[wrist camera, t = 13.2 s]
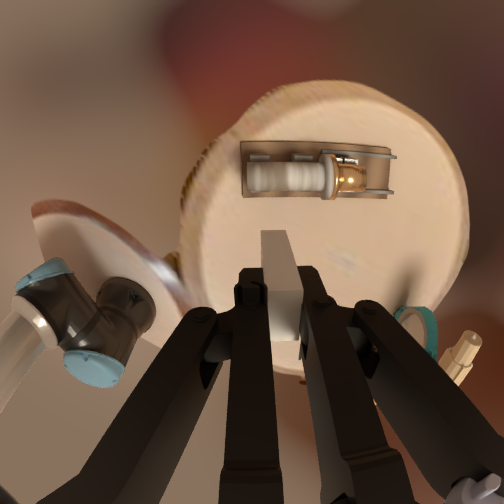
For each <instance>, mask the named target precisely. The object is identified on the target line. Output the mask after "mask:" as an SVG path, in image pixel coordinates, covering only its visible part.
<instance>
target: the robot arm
mask: <svg viewBox="0 0 504 504" xmlns="http://www.w3.org/2000/svg"><path fill="white" fill-rule="evenodd" d="M15 289H16V292H17V294H16V295H15V296H14V297H13V299H12V312H11V313H10V314H9V315H8V316H7V317H6V319H4V320H3V322H2V323H1V324H0V414H1V412H2V410H3V409H4V407H5V405H6V404H7V402H8V401H9V399H10V397H11V396H12V394H13V393H14V391H15V390H16V388H17V387H18V385H19V384H20V382H21V381H22V379H23V378H24V376H25V375H26V374H27V372H28V371H29V369H30V368H31V367H32V365H33V364H34V362H35V361H36V359H37V358H38V357H39V356H40V354H41V353H42V352H43V350H44V349H55V348H56V347H57V346H58V345H59V346H60V347H61V348H62V349H63V350H64V352H65V353H64V354H63V363H64V366H65V368H66V369H67V370H68V371H69V372H70V373H71V374H72V375H73V376H74V377H76V378H77V379H79V380H80V381H82V382H84V383H86V384H89V385H92V386H95V387H99V388H109V387H112V386H114V385H115V384H116V383H118V381H119V379H120V377H121V376H122V374H123V373H124V371H125V367H126V364H127V362H128V359H129V357H130V355H131V352H132V350H133V348H134V345H135V343H136V341H137V339H138V338H139V337H140V336H141V335H142V334H143V333H145V332H146V331H147V330H148V329H149V328H150V327H151V326H152V324H153V321H154V319H155V316H156V308H155V304H154V302H153V300H152V298H151V297H150V295H149V294H148V293H147V292H146V290H144V289H143V288H142V287H141V286H140V285H138V284H136V283H135V282H133V281H130V280H127V279H123V278H115V279H111V280H109V281H107V282H106V283H105V284H104V285H103V286H102V287H101V289H100V290H99V292H98V294H97V299H96V303H95V302H94V301H93V300H92V299H91V297H90V296H89V295H88V293H87V292H86V291H85V289H84V288H83V287H82V285H81V284H80V282H79V281H78V280H77V278H76V277H75V275H74V272H73V271H71V270H70V268H69V267H68V266H67V264H66V263H65V261H64V260H63V259H61V258H53V259H51V260H49V261H47V262H45V263H44V264H42V265H40V266H39V267H38V268H36V269H34V270H33V271H32V272H31V273H30V274H28V275H26V276H25V277H23V278H22V279H21V280H20V281H18V282H17V283H16V285H15ZM234 299H235V306H234V307H233V308H232V309H231V310H229V311H226V312H223V313H219V314H217V313H216V311H215V310H213V309H212V308H209V307H197V308H193V309H191V310H189V311H188V312H187V313H186V314H185V316H184V317H183V318H182V320H181V321H180V323H179V324H178V326H177V327H176V328H175V330H174V331H173V333H172V334H171V336H170V337H169V339H168V340H167V342H166V343H165V344H164V346H163V347H162V349H161V350H160V352H159V353H158V355H157V356H156V358H155V359H154V360H153V362H152V363H151V365H150V366H149V368H148V369H147V371H146V373H145V374H144V375H143V377H142V378H141V380H140V381H139V383H138V384H137V386H136V387H135V389H134V390H133V392H132V393H131V394H130V396H129V397H128V399H127V401H126V402H125V403H124V405H123V407H122V408H121V410H120V411H119V413H118V414H117V416H116V417H115V419H114V420H113V422H112V423H111V425H110V426H109V428H108V429H107V431H106V432H105V434H104V436H103V437H102V439H101V440H100V442H99V443H98V445H97V446H96V448H95V449H94V451H93V452H92V454H91V456H90V457H89V459H88V460H87V462H86V463H85V465H84V466H83V468H82V470H81V471H80V473H79V474H78V475H77V476H75V477H74V478H72V479H71V480H70V481H68V482H67V483H65V484H64V485H62V486H61V487H59V488H58V489H56V490H55V491H54V492H52V493H51V494H49V495H48V496H46V497H45V498H43V499H41V500H40V501H38V502H37V503H36V504H159V502H160V500H161V498H162V496H163V494H164V492H165V490H166V487H167V485H168V483H169V481H170V479H171V477H172V475H173V473H174V470H175V468H176V466H177V464H178V462H179V460H180V458H181V456H182V453H183V451H184V449H185V447H186V445H187V443H188V441H189V438H190V436H191V434H192V432H193V430H194V427H195V425H196V423H197V421H198V419H199V416H200V414H201V412H202V410H203V407H204V405H205V403H206V401H207V399H208V396H209V394H210V392H211V390H212V387H213V385H214V383H215V381H216V378H217V376H218V374H219V371H220V369H221V367H222V365H223V361H224V360H228V359H231V365H230V379H229V392H228V393H229V394H228V406H227V421H226V437H225V453H224V465H223V468H222V470H221V474H220V486H219V501H218V502H219V503H218V504H284V496H283V482H282V472H281V468H280V462H279V449H278V434H277V419H276V405H275V391H274V378H273V365H272V352H271V341H293V340H299V333H300V337H301V344H300V352H299V360H301V357H302V362H303V367H304V373H305V379H306V384H307V390H308V396H309V402H310V407H311V414H312V420H313V427H314V433H315V440H316V446H317V453H318V460H319V467H320V474H321V483H322V484H321V486H322V487H321V493H320V500H321V504H419V503H417V502H416V501H415V500H414V496H413V492H412V488H411V485H410V481H409V478H408V474H407V471H406V468H405V464H404V461H403V458H402V456H401V454H400V452H399V451H398V450H397V449H393V448H390V447H389V445H388V443H387V440H386V437H385V434H384V431H383V427H382V424H381V421H380V418H379V416H378V412H377V409H376V406H375V403H374V401H375V402H376V404H377V405H378V407H379V408H380V410H381V411H382V413H383V414H384V416H385V417H386V419H387V420H388V422H389V423H390V425H391V426H392V428H393V429H394V431H395V433H396V434H397V435H398V437H399V439H400V440H401V442H402V443H403V445H404V446H405V448H406V449H407V451H408V452H409V454H410V455H411V457H412V458H413V460H414V462H415V463H416V465H417V466H418V468H419V469H420V471H421V473H422V474H423V476H424V477H425V479H426V480H427V481H428V483H429V484H430V486H431V487H432V488H433V489H434V490H435V491H436V492H437V493H438V494H439V495H440V496H441V497H443V498H444V499H445V500H446V501H445V503H444V504H504V438H503V437H501V436H500V435H498V434H497V432H496V431H495V430H494V429H493V427H492V426H491V425H490V424H489V422H488V421H487V420H486V419H485V417H484V416H483V415H482V414H481V413H480V411H479V410H478V409H477V408H476V407H475V405H474V404H473V403H472V402H471V401H470V399H469V398H468V397H467V396H466V395H465V394H464V392H463V391H462V390H461V389H460V388H459V387H458V386H457V384H456V383H455V382H454V381H453V380H452V379H451V378H450V377H449V375H448V374H447V373H446V372H445V371H444V370H443V369H442V368H441V367H440V365H439V364H438V363H437V362H436V361H435V360H434V359H433V358H432V357H431V356H430V355H429V353H428V352H427V351H426V350H425V349H424V348H423V347H422V346H421V345H420V344H419V343H418V342H417V341H416V340H415V339H414V338H413V337H412V336H411V335H410V333H409V332H408V331H407V330H406V329H405V328H404V327H403V326H402V325H401V324H400V323H399V322H398V321H397V320H396V319H395V318H394V317H393V316H392V315H391V314H390V313H389V312H388V311H387V310H386V309H385V308H384V307H383V306H382V305H380V304H379V303H378V302H375V301H372V300H361V301H359V302H357V303H356V304H355V307H354V308H347V307H342V306H339V305H337V303H336V301H335V300H334V298H332V297H331V296H329V295H327V293H326V290H325V288H324V285H323V283H322V280H321V278H320V275H319V273H318V271H317V270H316V269H315V268H314V267H313V266H297V265H296V262H295V259H294V255H293V252H292V249H291V246H290V242H289V239H288V236H287V233H286V230H261V268H243V269H242V271H241V272H240V273H239V282H238V283H237V284H236V285H235V287H234ZM374 346H375V347H374ZM373 399H374V400H373ZM0 504H19V503H18V501H17V500H16V499H15V498H14V497H13V496H12V495H11V494H10V493H9V492H8V491H7V490H6V489H5V488H4V487H3V486H1V485H0Z"/></svg>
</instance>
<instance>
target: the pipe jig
mask: <svg viewBox="0 0 504 504" xmlns="http://www.w3.org/2000/svg"><path fill="white" fill-rule="evenodd" d="M241 149H242V179H243V198H251V197H321V199H322V200H329V199H330V198H331V195H332V192H333V186H334V169H333V163H332V159H331V157H330V155H329V154H333V155H335V156H346V157H352V158H355V159H358V165H363V166H364V167H365V169H366V172H367V185H366V188H365V190H364V191H363V192H343V191H338V194H337V197H345V198H374V199H387V194H394V191H392V190H388V183H389V171H390V159H397V156H394V155H391V149H389V148H381V147H371V146H361V145H350V144H336V143H317V142H241Z"/></svg>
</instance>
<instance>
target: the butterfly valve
mask: <svg viewBox="0 0 504 504" xmlns="http://www.w3.org/2000/svg"><path fill="white" fill-rule="evenodd" d="M394 317H395V318H396V320H397V321H398V322H399V323H400V324H401V325H402V326H403V327H404V328H405V329H406V330H407V331H408V332H409V333H410V335H411V336H412V337H413V338H414V339H415V340H416V341H417V342H418V343H419V344H420V345H421V346H422V347H423V348H424V349H425V350H426V351H427V352H428V353H429V355H430V356H431V357H432V358H433V359H434V360H435V361H436V362H437V360H436V357H437V355H438V352H437V343H438V329H437V322H436V320H435V317H434V315H433V313H432V311H431V310H429V309H428V308H426V307H401V308H400V310H398V311H396V313H395V316H394ZM481 345H482V340H481V338H480V337H479V336H478V335H477V334H476V333H475V332H472V331H465V332H464V334H463V335H462V337H461V338H460V340H459V341H458V343H457V344H456V345H455V346H454V347H452V348H447V349H446V351H445V353H444V354H443V356H442V358H441V359H440V361H439V362H437V363H438V364H439V365H440V367H441V368H442V369H443V370H444V371H445V372H446V373H447V374H448V375H449V377H450V378H451V379H452V380H453V381H454V382H455V383H456V384H457V386H459V385H460V383H461V382H462V381H463V379H464V378H465V376H466V375H467V374H468V372H469V371H470V369H471V368H472V366H473V364H472V363H471V362H472V360H473V358H474V357H475V355H476V353H477V352H478V350H479V348H480V346H481Z"/></svg>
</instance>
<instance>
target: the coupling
mask: <svg viewBox="0 0 504 504" xmlns="http://www.w3.org/2000/svg"><path fill="white" fill-rule="evenodd" d="M329 155H330V157H331V159H332V163H333V169H334V186H333V192H332V195H331V198H330V199H329V200H334V199H335V198H336V197H337V194H338V191H343V192H363V191H364V190H365V188H366V185H367V172H366V169H365V167H364V166H363V165H358V159H355V158H352V157H346V156H335V155H333V154H329Z"/></svg>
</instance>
